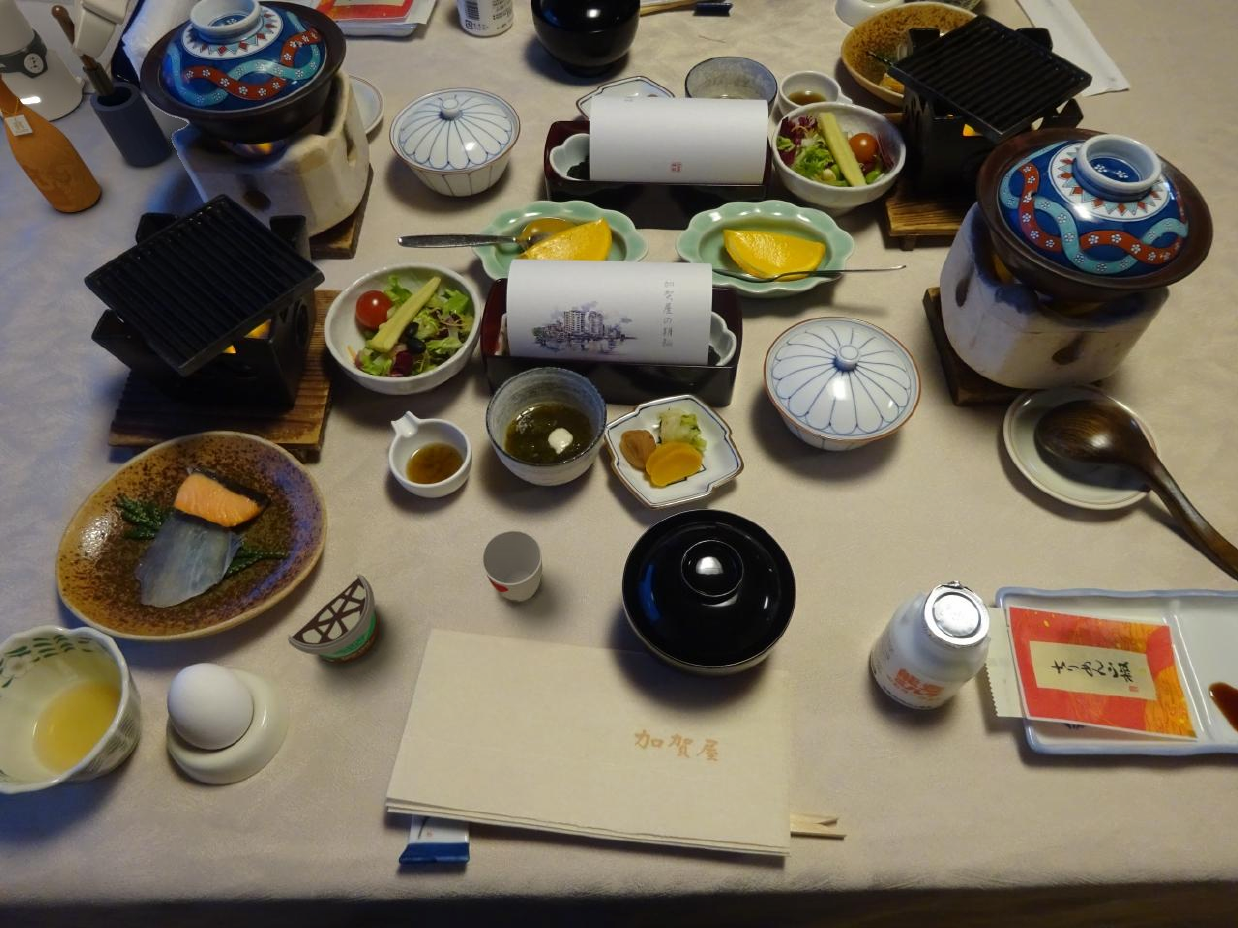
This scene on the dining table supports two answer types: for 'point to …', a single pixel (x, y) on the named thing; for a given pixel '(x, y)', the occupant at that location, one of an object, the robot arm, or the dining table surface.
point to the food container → (342, 626)
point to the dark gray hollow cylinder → (131, 125)
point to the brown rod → (84, 55)
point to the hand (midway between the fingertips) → (76, 47)
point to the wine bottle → (47, 156)
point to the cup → (513, 564)
